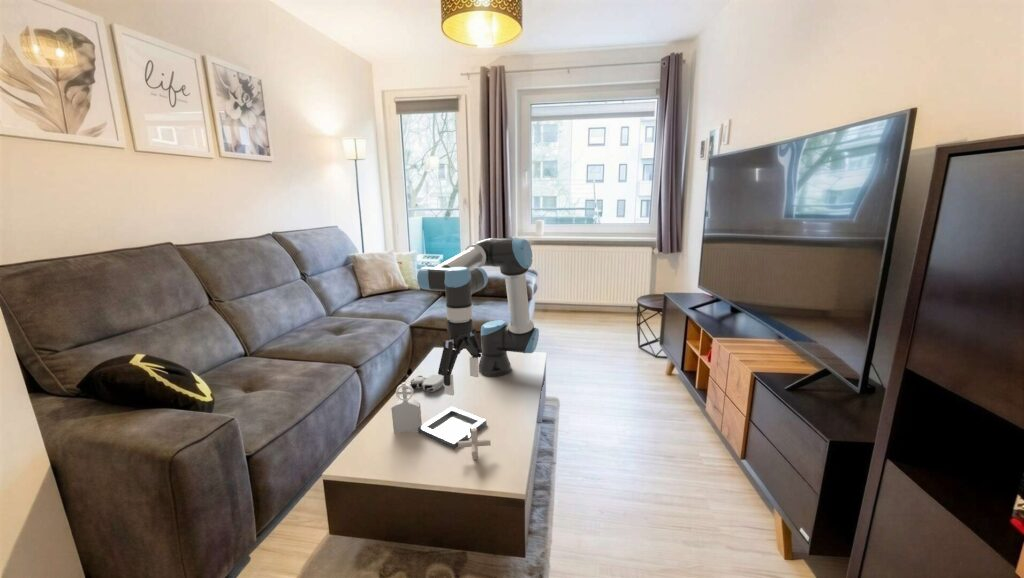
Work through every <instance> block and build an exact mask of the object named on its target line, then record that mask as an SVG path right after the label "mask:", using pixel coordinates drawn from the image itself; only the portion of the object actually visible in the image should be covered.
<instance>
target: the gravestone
mask: <svg viewBox="0 0 1024 578" xmlns="http://www.w3.org/2000/svg"><path fill="white" fill-rule="evenodd" d="M406 387H408V388H409V389H406ZM399 389H401V390H399ZM408 394H410V395H409V396H408ZM395 395H396V397H397V398H398V400H397V401H396V402H394V403H393V404H392V406H391V417H392V419H391V420H392V428H393V433H407V432H409V433H410V432H418V427H420V426H422V425H423V424H422V411H421V410H422V409H421V403H420V402H419V401H417V400H413V399H411V398H412V397H413V395H414V389H413V388H412V387H411V386H410V383H409V384H408V383H406V382H401V384H399V385H398V386H397V388H396V390H395ZM401 395H402V396H401Z"/></svg>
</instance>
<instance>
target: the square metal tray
mask: <svg viewBox="0 0 1024 578" xmlns="http://www.w3.org/2000/svg"><path fill="white" fill-rule="evenodd" d="M486 426H487V419H485V418H484V417H483V418H482V417H480V416H477V415H474V414H472V413H470V412H467V411H464V410H462V409H459V408H456V407H454V406H450V407H449V408H447V409H446V410H444V411H442V412H440V413H438V415H436V416H434V417H432V418H430V419H429V420H428V421H426V422H424V423H423V424H422V426H420V427H418V431H417V432H418V434H419V435H422V436H424V437H426V438H428V439H431V440H434V441H435V442H437V443H439V444H442V445H444V446H446V447H449V448H451V449H453V450H455V449H456V448H459V447H458V441H468V440H469V439H470V438H471V429H472V428H476V429H477V433H478V432H479V431H481V430H482V429H483V428H485V427H486Z"/></svg>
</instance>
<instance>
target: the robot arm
mask: <svg viewBox="0 0 1024 578" xmlns="http://www.w3.org/2000/svg"><path fill="white" fill-rule="evenodd" d="M532 264H533V250H532V246H531V244H530V243H529V241H527V239H524V238H517V237H514V238H509V237H507V238H504V237H503V238H502V237H499V238H498V237H489V238H485V239H481V240H479V241H477V242H473V243H472V244H469V245H468V246H466V248H465V249H464V250H463V251H462V252H460V253H458V254H456V255H455V256H453V257H451V258H449V259H446V260H445V261H443V262H441V263H439V264H437V265H435V266H423V267H421V268H420V269H419V270H418V271H417V272H418V273H417V274H416V278H417V284H418V286H419V288H421V290H427V291H428V290H429V291H439V292H442V291H443V292H445V304H446V305H445V306H446V319H447V321H446V331H447V333H448V334H449V335H450V337H449V338H450V339H449V340H446V339H445V340H443V349H442V352H441V353H442V354H441V358H440V362H439V367H438V371H437V375H443V377H444V384H443V385H444V394H445V395H449V396H452V397H453V396H454V395H455V388H454V387H455V386H454V383H455V382H454V374H453V373H452V372H453V369H454V366H455V363H456V361H457V358H458V355H460V354H461V351H463V350H464V349H466V351H467V352H468V353H469V355H470V356H469V375H470V377H472V378H473V377H474V378H479V373H480V374H481V375H484V376H486V377H501V376H505V375H507V374H509V372H511V370H512V369H511V368H512V366H511V362H510V360H509V356H508V353H507V352H512V353H513V352H514V353H520V354H521V353H522V354H533V353H534V352H535V351H536V349H537V346H538V341H539V334H540V331H539V328H538V327H535V326H534V325H535V323H534V322H533V321H532V320H531V317H530V310H529V309H530V308H529V297H528V288H527V277H526V275H527V274H526V273H528V271H529V268H531V267H532ZM482 267H495V268H499V270H500V274H501V275H503V276H504V281H505V288H506V296H507V298H506V299H507V305H508V313H509V314H508V315H509V320H510V322H509V323H508V324H507V322H506V321H505V320H501V319H495V320H491V321H488V322H484V323H483V324H482V325H481V326H480V327H481V328H480V341H479V338H478V336H477V330H476V328H473V319H472V318H473V307H472V306H473V304H472V295H473V294H476V293H477V292H479V291H482V290H483V289H484V288H485V287H486V286H487V284H488V281H489V276H488V274H487V272H486V271H485V269H484V268H482ZM480 343H481V344H480ZM479 358H480V360H479Z"/></svg>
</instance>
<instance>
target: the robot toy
mask: <svg viewBox="0 0 1024 578" xmlns="http://www.w3.org/2000/svg"><path fill="white" fill-rule="evenodd" d="M409 385H410V386H411V387H412V388H413V390H414V389H422V390H424V391H426V392H430V393H431V392H435V391H438V390H439V389H440V388H442V387H443V385H444V376H443V375H439V374H431V375H429V376H428V377H425V376H423V375H417V376H416V377H414V378H412V379H411V380H410V383H409ZM406 390H410V389H409V388H408V387H406Z"/></svg>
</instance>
